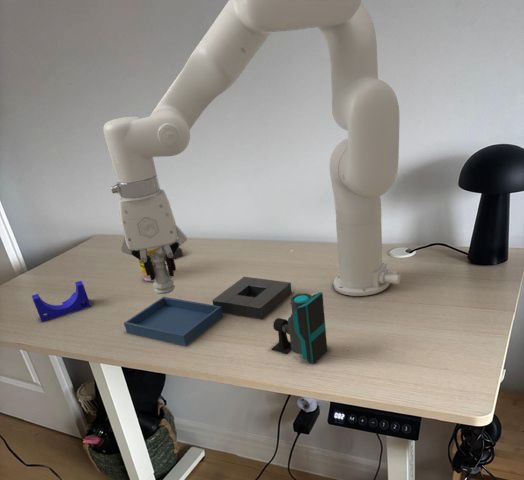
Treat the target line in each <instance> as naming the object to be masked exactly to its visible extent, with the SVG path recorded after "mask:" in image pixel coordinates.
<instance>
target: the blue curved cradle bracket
mask: <svg viewBox="0 0 524 480" xmlns="http://www.w3.org/2000/svg"><path fill="white" fill-rule="evenodd" d="M74 283H75V292H73V293H72V294H71V296H70V297H69V298H68V299H65V301H62V302H61V303H62V304H56V305H55V304H51V303H48V302H46V301H44V300H43V299H42V298H41V296H40V294H39V293H36V294H33V295H31V298H32V301H33V304H34V305H35V309H36V311H37V313H38V315H39V316H38V317H39V318H40V320H41V323H43V322H46V321H50V320H53V319H56V318H59V317H62V316H65V315H68V314H71V313H74V312H79V311H80V310H84V309H86V308H90V307H91V306H92V305H91V302H90V300H89V297H88V294H87V291H86V288H85V286H84V283H83V282H82V280H79V281H75V282H74Z"/></svg>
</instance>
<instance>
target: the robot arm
mask: <svg viewBox="0 0 524 480" xmlns="http://www.w3.org/2000/svg"><path fill="white" fill-rule="evenodd" d="M313 28H314V29H315V28H317V29H319V31H320V32H321V33H322V35H323V36H324V39H325V41H326V43H327V48H328V53H329V60H330V61H329V62H330V63H329V64H330V81H331V82H330V83H331V85H330V86H331V113H332V117H333V120H334V121H335V123H336V125H338V127H340V128H341V129H342V130H345V131H347V138H345V139H343V140H342V141H340V142H338V144H337V145H336V146H335V147H334V148H333V150H332V153H331V155H330V158H329V176H330V182H331V187H332V192H333V198H334V199H333V201H334V210H335V211H334V212H335V223H336V224H335V225H336V226H335V227H336V241H337V255H338V256H337V257H338V270H339V274H338V275H337V276H336V277H335V278H334V279H333V289H334V290H335V291H336V292H338V293H339V294H342V295H345V296H351V297H365V296H371V295H375V294H379V293H381V292H383V291H384V290H386V289H388V287H389V286H390V284H396V285H399V284H400V282H401V275H400V274H399V273H400V272H399V270H389V269H388V268H387V267H388V265H387V263H386V262H383V237H382V236H383V232H382V228H383V227H382V200H381V196H384V195H386V193H387V192H389V191H390V189H391V188H392V187H393V185H394V183H395V181H396V179H397V176H398V171H399V157H400V156H399V155H400V152H399V151H400V105H399V100H398V97H397V95H396V93H395V91H394V89H393V88H392V87H391V85H389V83H388V82H386V81H384V80H382V79H379V67H378V47H377V45H378V44H377V35H376V29H375V26H374V22H373V19H372V16H371V14H370V13H369V11H368V9H367V7H366V6H365V4H364V3H363V1H362V0H228V1H227V3H226V4H225V5H224V7H223V8H222V9H221V11H220V13H219V14H218V15H217V17H216V18H215V20H214V22H213V23H212V24H211V25H210V27H209V28H208V30H207V31H206V33H205V34H204V35H203V36H202V38H201V39H200V41H199V43H198V44H197V45H196V47H195V48H194V50H193V51H192V53H191V54H190V56H189V57H188V59H187V61H186V63H185V64H184V66H183V67H182V69H181V70H180V72H179V73H178V75H177V76H176V78H175V79H174V81H173V82H172V83H171V85H170V86H169V88H167V90H166V92H165V93H164V95H163V96H162V98H161V99H160V101H159V102H158V103H157V105H156V106H155V107H154V109H153V111H152V112H151V114H149V116H146V117H142V118H141V117H139V116H123V117H118V118H114V119H110V120H107V122H105V123H104V124H103V129H102V130H103V136H104V140H105V143H106V146H107V150H108V153H109V157H110V160H111V164H112V167H113V171H114V174H115V179H116V182H117V183H116V184H115V185H111V186H110V189H111V193H112V194H118V195H120V198H119V199H118V200H117V203H118V204H117V205H118V213H119V217H120V222H121V227H122V232H123V235H124V238H123V241H122V246H121V249H120V250H121V252H122V253H124V254H127V255H131V256H132V257H134V258H136V259H137V260H138V259H139V260H141V262H143V263H144V266H145V270H146V274H147V276H148V275H150V278H151V280H154V279H155V271H154V268H153V264H152V262H151V261H150V260H151V258H150V257H149V256H148V255H147V249H148V248H154V247H159V246H164V249H165V251H166V260H165V264H166V268H167V272H168V275H169V277H170V278H171V277H174V274H175V273H174V271H177V267H176V263H175V258H173V255H174V253H175V252H176V250H177V249H178V247H179V248H180V247H181V246H182V245H183V244H185V243H186V242H187V240H188V236H187V235H186V234H185V232H183V231H182V229H180V227H179V226H178V225H177V224H176V220H175V216H174V213H173V210H172V207H171V204H170V201H169V198H168V196H167V194H166V192H165V190H164V189H161V185H160V182H159V178H158V173H157V170H156V165H155V161H154V158H159V157H162V158H163V157H173V156H177V155H180V154H181V153H183V152H184V151H185V150H186V149H187V147H188V146H189V144H190V139H191V132H190V130H191V129H192V127H193V126H194V125H195V123H196V122H197V120H198V119H199V118H200V117H201V116H202V114H203V113H204V111H205V110H206V109H207V108H208V106H209V105H211V103H212V102H213V101H214V100H215V99H216V98H217V97H219V96H220V95H221V94H223V93H225V92H226V91H227V90H229V89H230V88H231V87H232V86H233V85H234V84H235V83H236V82H237V80H238V79H239V78H240V76H241V75H242V73H243V72H244V70H245V69H246V68H247V66H248V65H249V63H250V62H251V61H252V59H253V58H254V56H255V55H256V54H257V52H258V51H259V50H260V49H261V48H262V46H263V44H264V43H265V42H266V41H267V39H268V38H269V36H270V35H271V34H272V33H280V32H291V31H299V30H309V29H313ZM171 244H172V245H171ZM139 260H138V261H139Z"/></svg>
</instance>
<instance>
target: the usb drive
mask: <svg viewBox="0 0 524 480" xmlns="http://www.w3.org/2000/svg"><path fill="white" fill-rule="evenodd" d="M171 245H172V244H171ZM161 248H162V252H163V254H164V256H165V257H166V251H165V249H164V246H161ZM183 256H184V254H183V250H182V248H181V247H180V246H179V247H178V249H177V250H176V252H175V253H174V255H173V258H174V259H178V258H181V257H183Z"/></svg>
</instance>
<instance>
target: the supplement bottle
mask: <svg viewBox="0 0 524 480" xmlns="http://www.w3.org/2000/svg"><path fill="white" fill-rule="evenodd" d="M158 252H159V255H160V253H163V252H162V248H161V246H159V247H154V248H148V249H147V255H148V256H149V257H150V258H152V257H151V255H152V254H155V255H157V254H156V253H158ZM137 260H138V263H139V267H140V270H141V274H142V275H141V276H142V278H143V280H144V281H146V282H155V279H154V280H151V278H150V275H148V276H147V274H146V270H145V266H144V263H143V262H141V260H139V259H138V258H137ZM152 264H153V263H152ZM153 266H154V264H153ZM166 270H167V271H168V267H166ZM154 271H155V270H154Z"/></svg>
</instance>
